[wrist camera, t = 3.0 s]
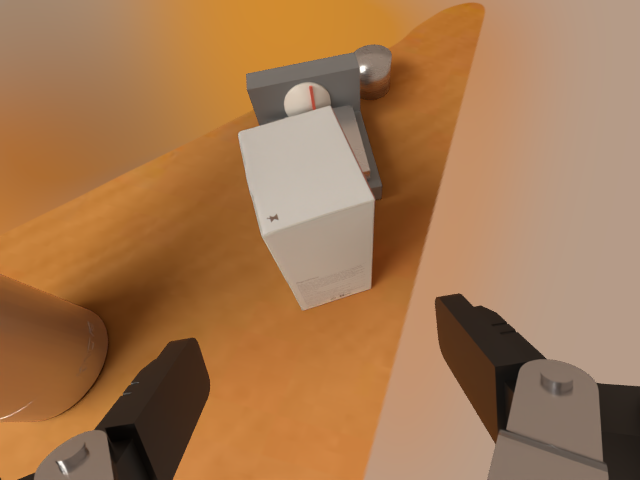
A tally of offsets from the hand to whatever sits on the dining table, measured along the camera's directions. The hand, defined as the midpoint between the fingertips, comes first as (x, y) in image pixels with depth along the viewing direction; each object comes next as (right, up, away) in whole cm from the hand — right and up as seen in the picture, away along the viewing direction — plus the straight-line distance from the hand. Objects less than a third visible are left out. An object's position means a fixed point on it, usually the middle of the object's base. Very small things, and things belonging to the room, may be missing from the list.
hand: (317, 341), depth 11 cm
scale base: (0, +12, +25) cm, 28 cm away
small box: (+1, +1, +19) cm, 19 cm away
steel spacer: (+6, +22, +29) cm, 37 cm away
